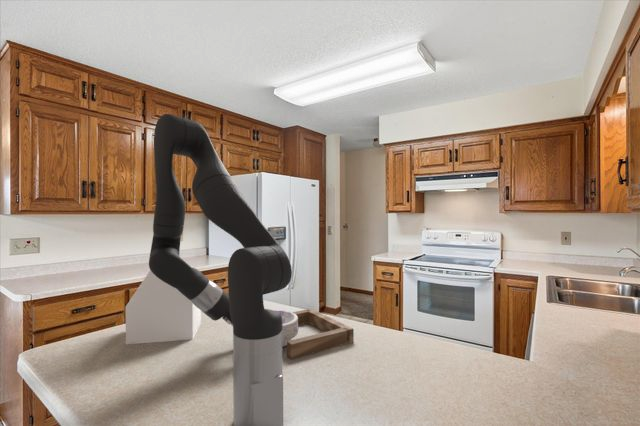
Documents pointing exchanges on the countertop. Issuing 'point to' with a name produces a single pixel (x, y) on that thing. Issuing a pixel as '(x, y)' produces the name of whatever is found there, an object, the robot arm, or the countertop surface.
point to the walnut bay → (322, 341)
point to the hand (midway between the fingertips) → (251, 332)
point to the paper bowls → (288, 326)
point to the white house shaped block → (160, 314)
